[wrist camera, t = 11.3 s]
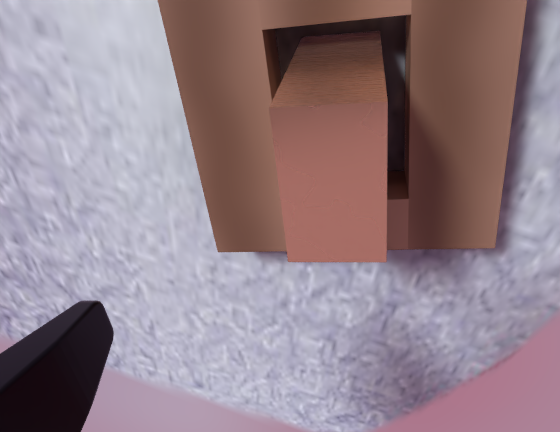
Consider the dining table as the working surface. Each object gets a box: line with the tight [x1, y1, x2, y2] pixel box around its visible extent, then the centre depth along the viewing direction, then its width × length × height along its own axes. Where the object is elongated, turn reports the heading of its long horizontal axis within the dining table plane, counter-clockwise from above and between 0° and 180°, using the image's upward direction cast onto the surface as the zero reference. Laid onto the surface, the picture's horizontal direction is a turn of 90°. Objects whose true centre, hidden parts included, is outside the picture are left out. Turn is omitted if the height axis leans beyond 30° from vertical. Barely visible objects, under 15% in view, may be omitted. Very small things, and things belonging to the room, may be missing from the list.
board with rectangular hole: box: [158, 0, 527, 252], centre depth 19 cm, size 12×12×2 cm
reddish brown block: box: [269, 31, 388, 262], centre depth 17 cm, size 3×5×8 cm, turn 6°
